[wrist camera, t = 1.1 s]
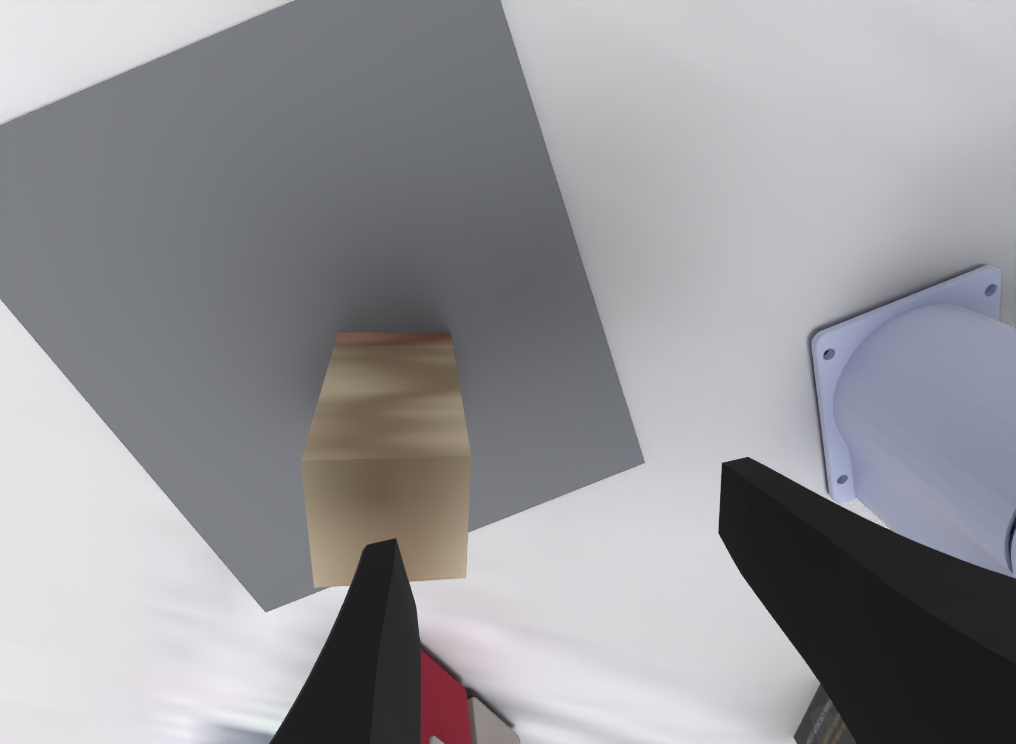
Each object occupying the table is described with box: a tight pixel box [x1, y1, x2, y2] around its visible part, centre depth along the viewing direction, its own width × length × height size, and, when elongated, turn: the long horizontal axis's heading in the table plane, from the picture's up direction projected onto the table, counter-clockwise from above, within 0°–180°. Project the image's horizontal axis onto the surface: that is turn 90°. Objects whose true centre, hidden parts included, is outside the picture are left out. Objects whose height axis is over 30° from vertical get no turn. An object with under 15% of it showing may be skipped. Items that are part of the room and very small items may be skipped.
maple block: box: [301, 332, 471, 588], centre depth 18 cm, size 4×4×8 cm
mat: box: [0, 0, 645, 612], centre depth 21 cm, size 20×18×1 cm
